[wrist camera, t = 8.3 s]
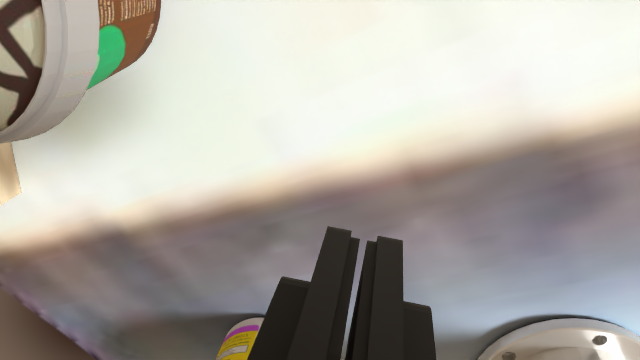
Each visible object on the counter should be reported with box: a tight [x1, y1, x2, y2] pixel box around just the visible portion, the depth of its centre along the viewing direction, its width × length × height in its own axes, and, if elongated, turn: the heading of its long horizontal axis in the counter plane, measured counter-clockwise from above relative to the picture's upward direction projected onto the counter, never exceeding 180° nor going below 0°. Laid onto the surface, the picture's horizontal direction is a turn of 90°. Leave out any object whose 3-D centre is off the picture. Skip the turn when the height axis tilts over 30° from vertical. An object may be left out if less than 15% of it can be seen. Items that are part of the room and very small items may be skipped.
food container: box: [0, 0, 161, 144], centre depth 20 cm, size 12×6×10 cm, turn 96°
